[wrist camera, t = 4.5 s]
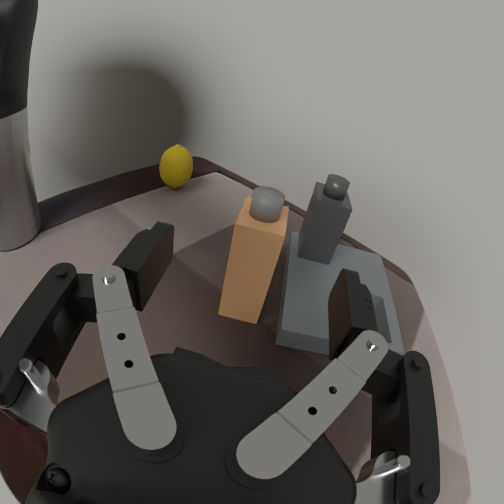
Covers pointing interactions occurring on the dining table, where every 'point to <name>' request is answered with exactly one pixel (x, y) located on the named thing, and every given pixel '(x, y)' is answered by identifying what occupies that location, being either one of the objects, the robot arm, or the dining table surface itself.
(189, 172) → the lemon
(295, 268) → the gray post stand
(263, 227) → the plug
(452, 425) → the dining table surface
